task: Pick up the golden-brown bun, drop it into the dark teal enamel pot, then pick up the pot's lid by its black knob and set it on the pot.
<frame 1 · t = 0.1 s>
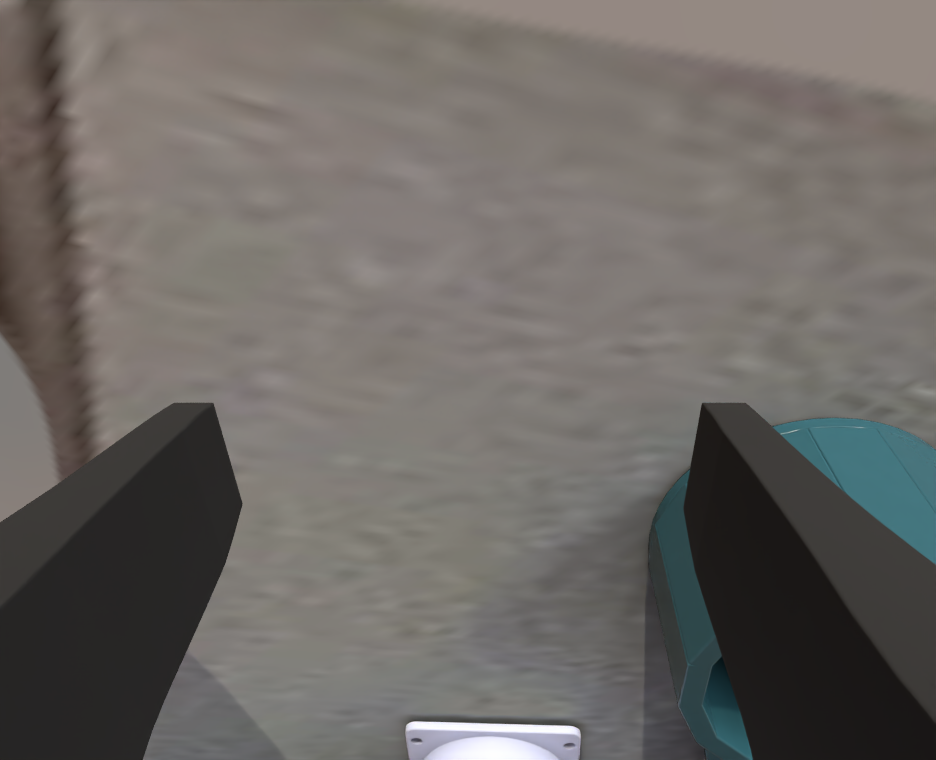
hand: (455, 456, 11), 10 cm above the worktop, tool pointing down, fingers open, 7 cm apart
pot: (798, 535, 25), on the worktop
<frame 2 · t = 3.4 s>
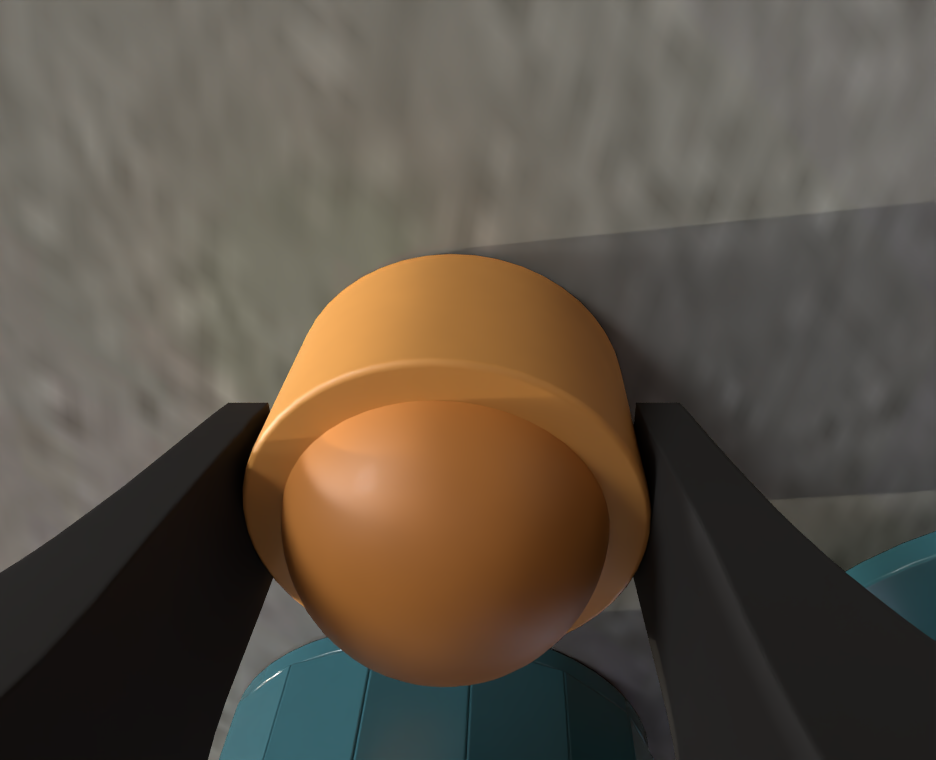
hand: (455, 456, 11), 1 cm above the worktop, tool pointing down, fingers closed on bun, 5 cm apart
pot: (439, 754, 18), on the worktop
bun: (458, 401, 12), on the worktop, touching gripper
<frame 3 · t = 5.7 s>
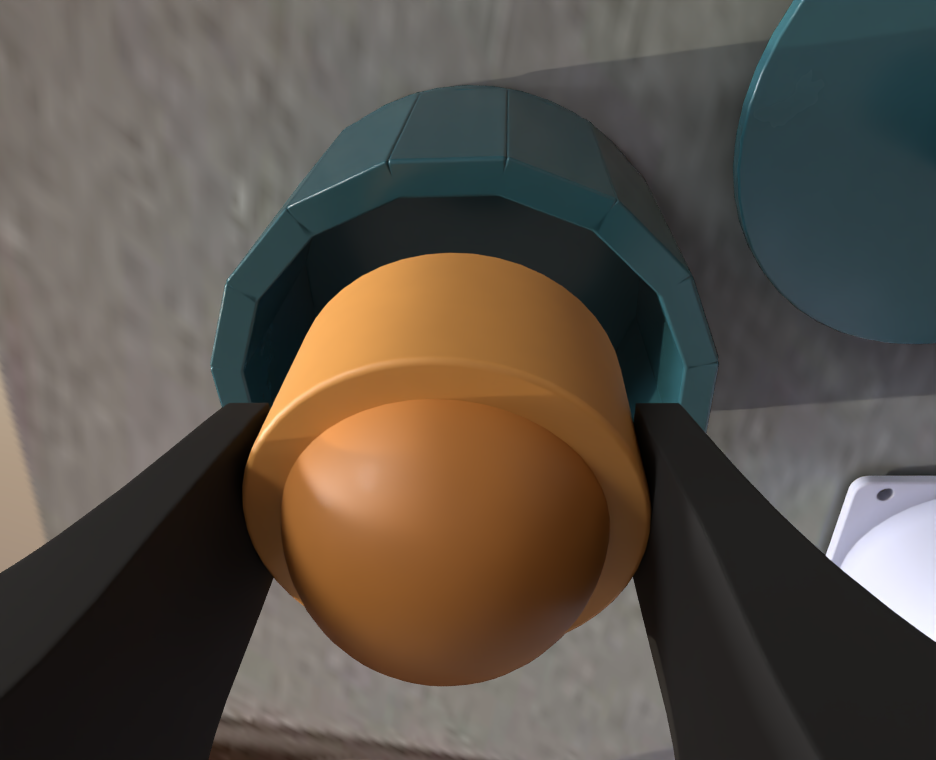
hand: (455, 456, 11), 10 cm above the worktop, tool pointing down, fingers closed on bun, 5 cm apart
pot: (473, 281, 20), on the worktop
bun: (458, 400, 12), point 8 cm above the worktop, touching gripper
when the fingers open (5 cm above the worktop, at t = 8.1 s): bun drops 3 cm, resting on pot.
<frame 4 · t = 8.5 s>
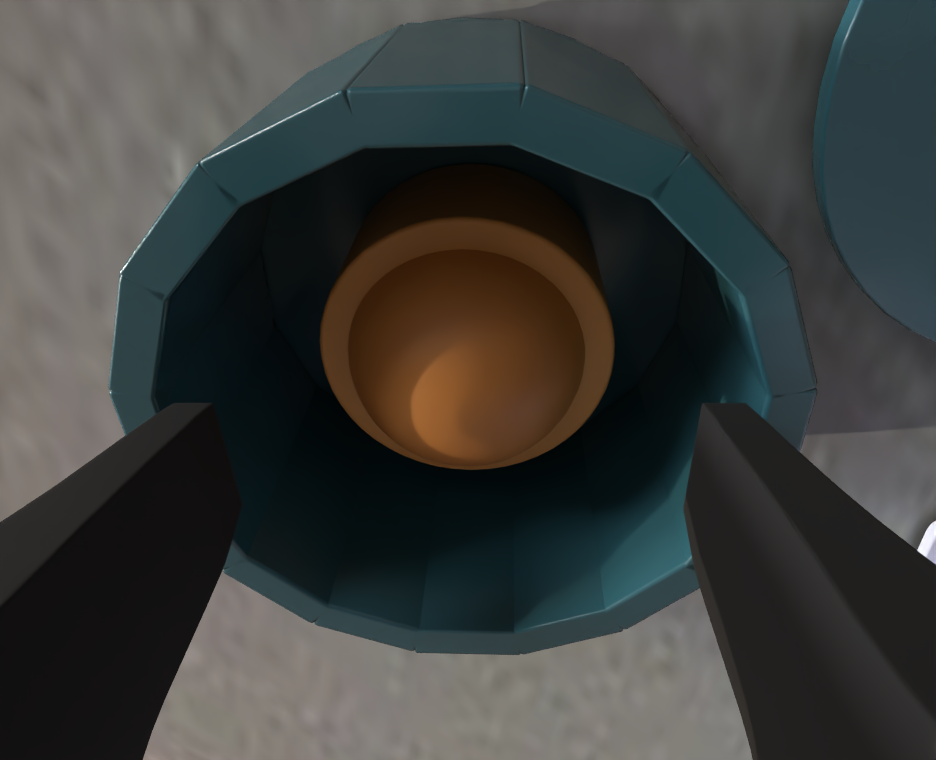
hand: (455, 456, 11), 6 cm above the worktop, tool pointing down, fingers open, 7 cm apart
pot: (472, 276, 16), on the worktop
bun: (473, 286, 15), resting on pot
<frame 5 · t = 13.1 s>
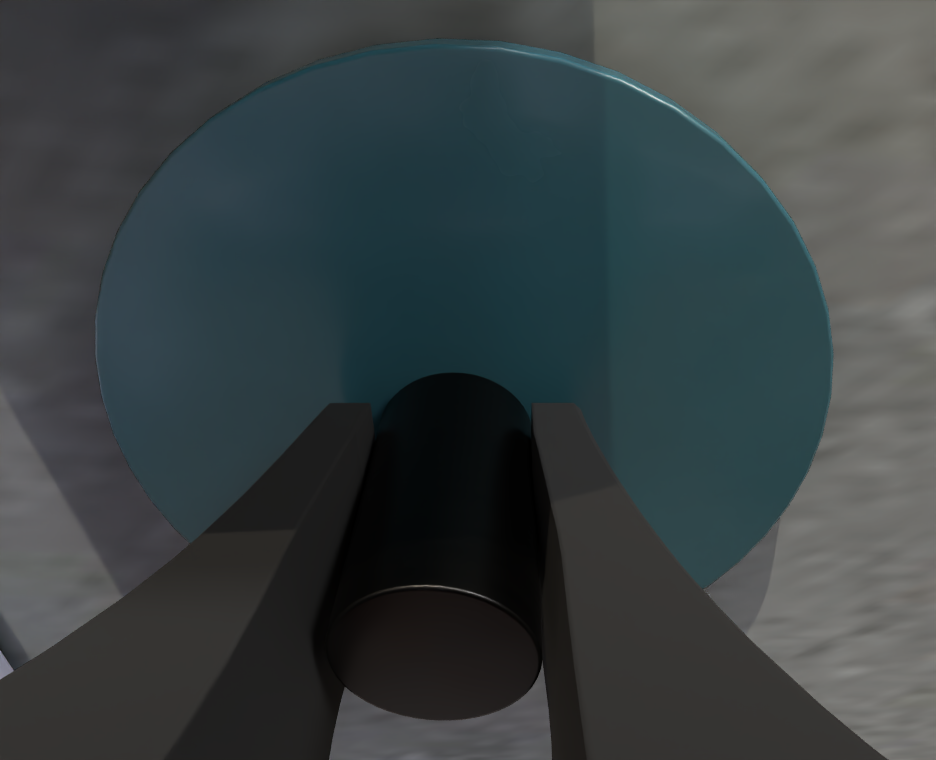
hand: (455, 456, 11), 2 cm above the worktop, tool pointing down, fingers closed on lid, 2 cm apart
lid: (458, 416, 12), point 1 cm above the worktop, touching gripper
when the fingers open (7 cm above the worktop, at t = 16.4 s): lid stays where it is, resting on pot.
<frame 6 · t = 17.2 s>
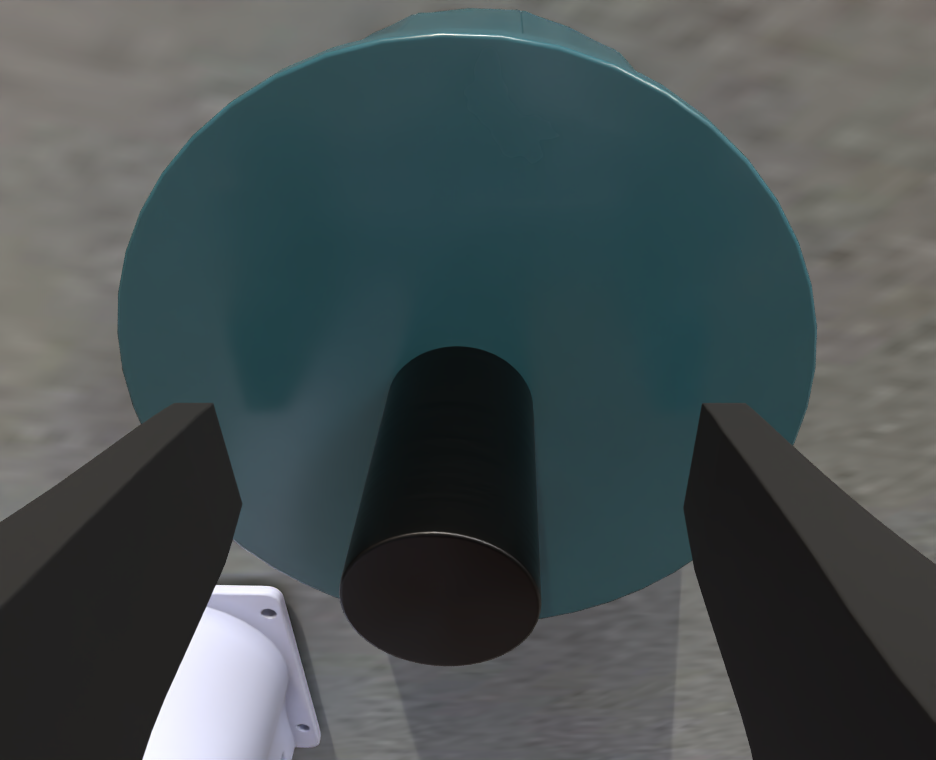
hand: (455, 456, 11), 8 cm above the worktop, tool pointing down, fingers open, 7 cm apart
pot: (477, 249, 17), on the worktop
lid: (461, 390, 12), point 6 cm above the worktop, touching pot
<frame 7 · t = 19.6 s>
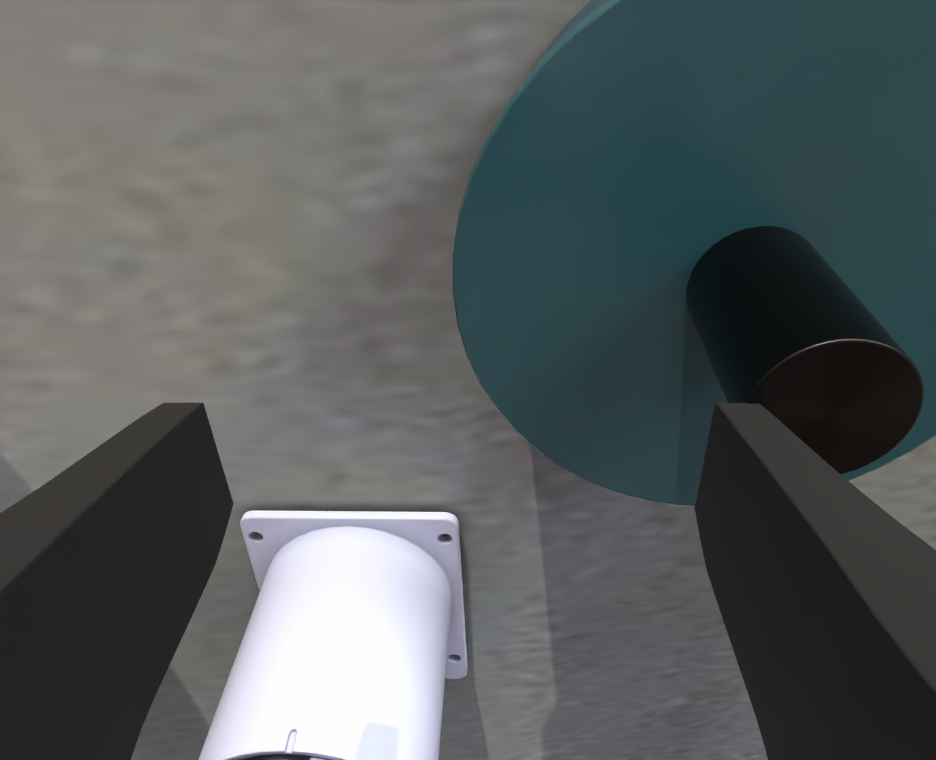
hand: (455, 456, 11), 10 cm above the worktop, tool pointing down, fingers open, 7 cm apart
pot: (705, 172, 19), on the worktop
lid: (745, 274, 14), point 6 cm above the worktop, touching gripper, pot
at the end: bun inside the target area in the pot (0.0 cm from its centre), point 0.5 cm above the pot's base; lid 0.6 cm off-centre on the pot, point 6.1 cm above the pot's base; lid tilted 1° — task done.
